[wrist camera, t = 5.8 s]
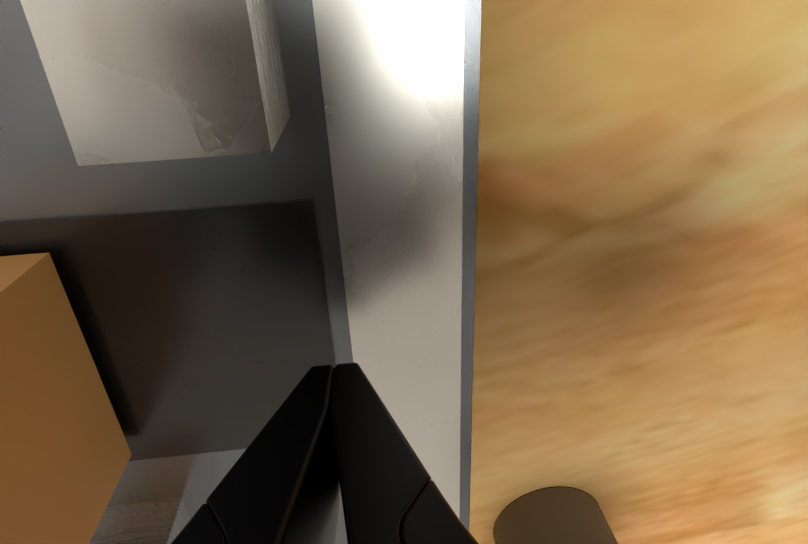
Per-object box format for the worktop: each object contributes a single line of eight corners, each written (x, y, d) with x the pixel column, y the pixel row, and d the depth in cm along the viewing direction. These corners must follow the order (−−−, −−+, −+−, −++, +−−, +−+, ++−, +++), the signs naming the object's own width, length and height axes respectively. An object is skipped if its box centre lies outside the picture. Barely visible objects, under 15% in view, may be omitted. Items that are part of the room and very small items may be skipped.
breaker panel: (452, -257, 9) (563, -536, 4) (453, 518, 18) (487, 685, 14) (-389, -244, 8) (-1363, -577, 3) (70, 564, 17) (-26, 758, 13)
